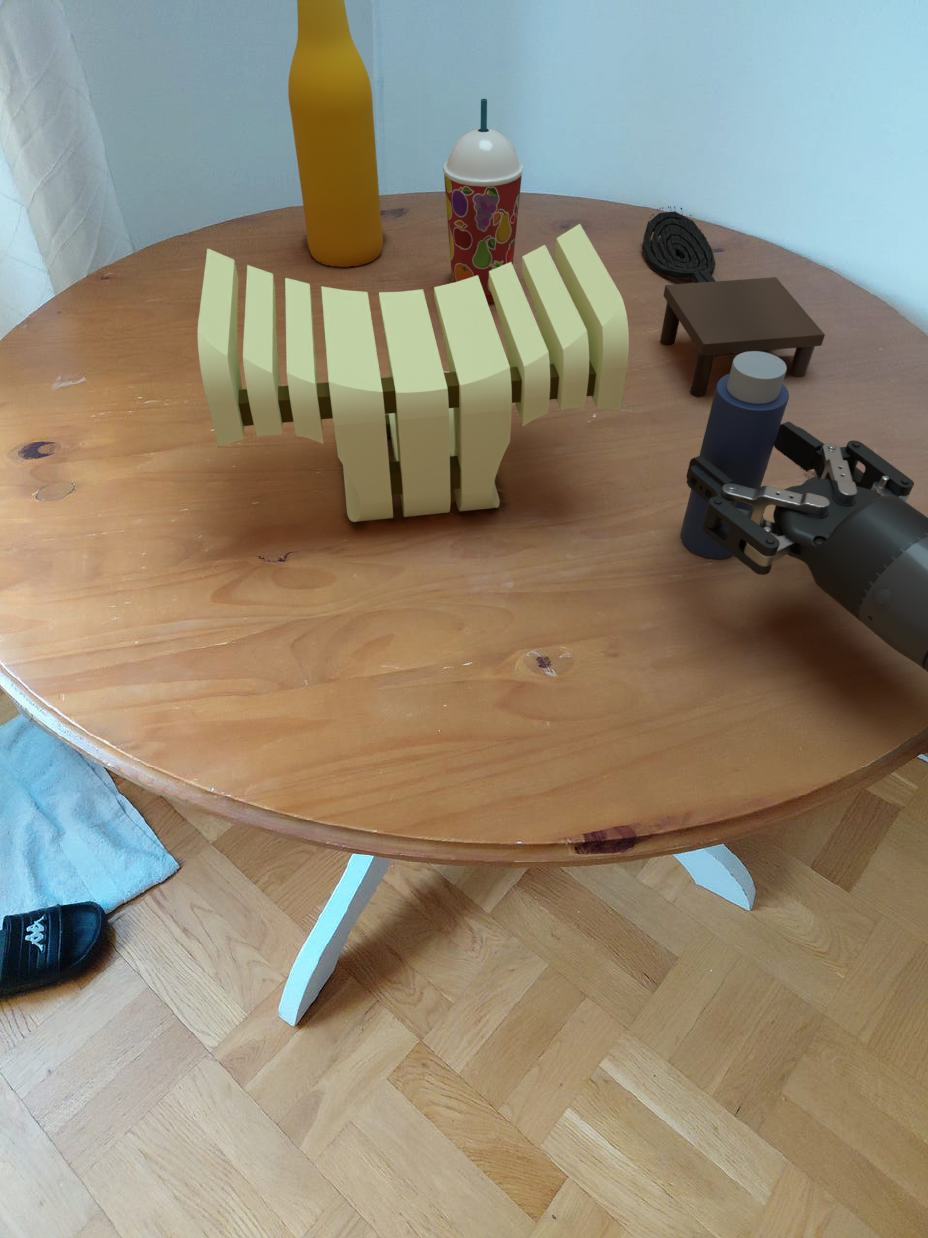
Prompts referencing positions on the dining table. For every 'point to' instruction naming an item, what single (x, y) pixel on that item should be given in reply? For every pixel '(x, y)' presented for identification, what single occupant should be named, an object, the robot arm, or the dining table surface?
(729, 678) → the dining table surface
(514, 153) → the smoothie
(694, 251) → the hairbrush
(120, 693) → the dining table surface
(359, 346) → the slatted curved stool
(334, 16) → the beer bottle
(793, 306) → the side table
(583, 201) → the dining table surface
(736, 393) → the thermos flask
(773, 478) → the dining table surface
